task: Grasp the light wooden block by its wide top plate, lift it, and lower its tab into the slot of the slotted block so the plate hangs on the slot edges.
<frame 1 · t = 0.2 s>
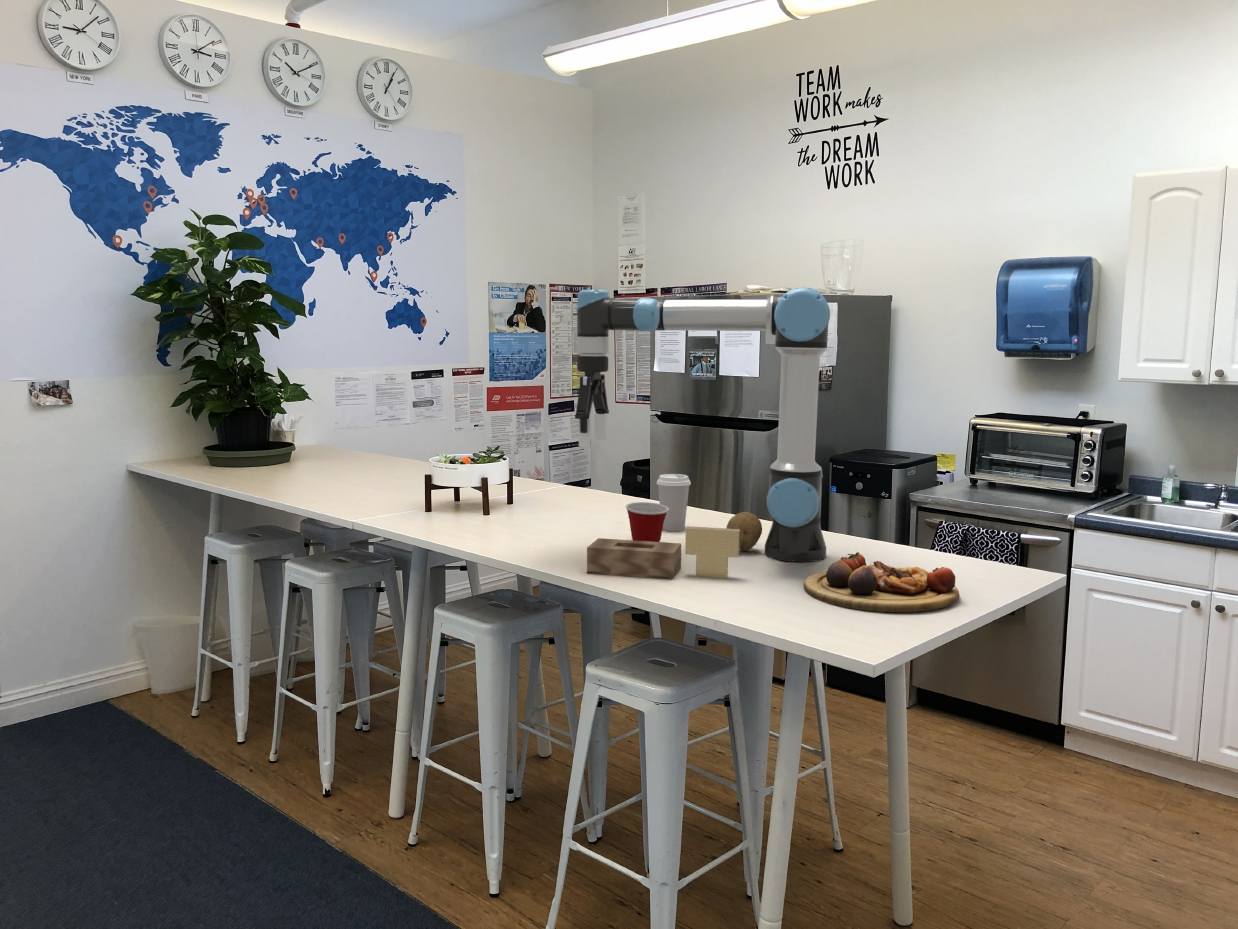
hand: (592, 443, 233), 28 cm above the table, fingers open, 13 cm apart
plastic cup: (646, 553, 239), on the table
natural sponge: (743, 551, 242), on the table
light wooden block: (711, 576, 217), on the table
wooden plate with food: (879, 595, 206), on the table
slotted block: (634, 570, 221), on the table
coffee cup: (672, 529, 268), on the table
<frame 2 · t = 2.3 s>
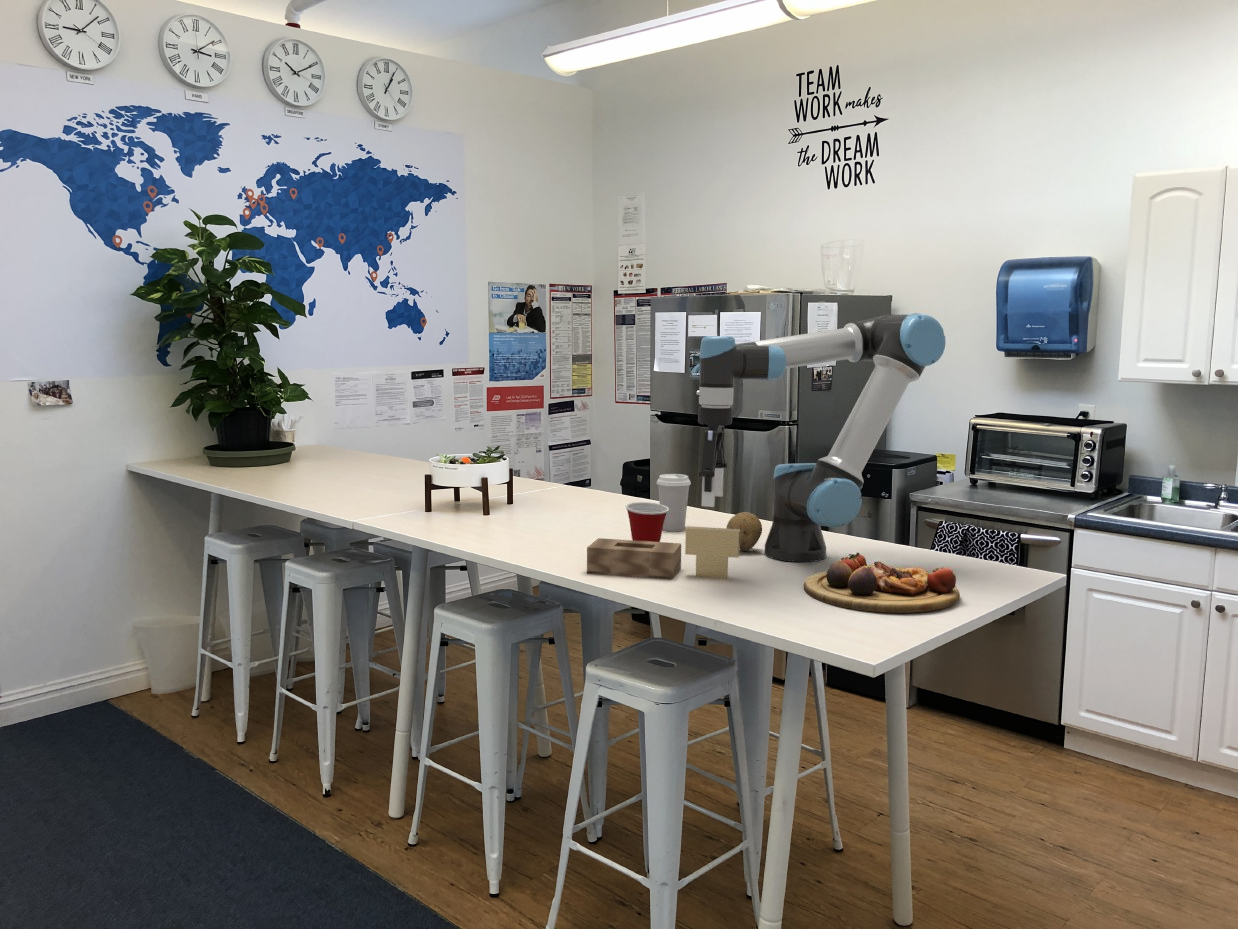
hand: (712, 501, 215), 17 cm above the table, fingers open, 13 cm apart
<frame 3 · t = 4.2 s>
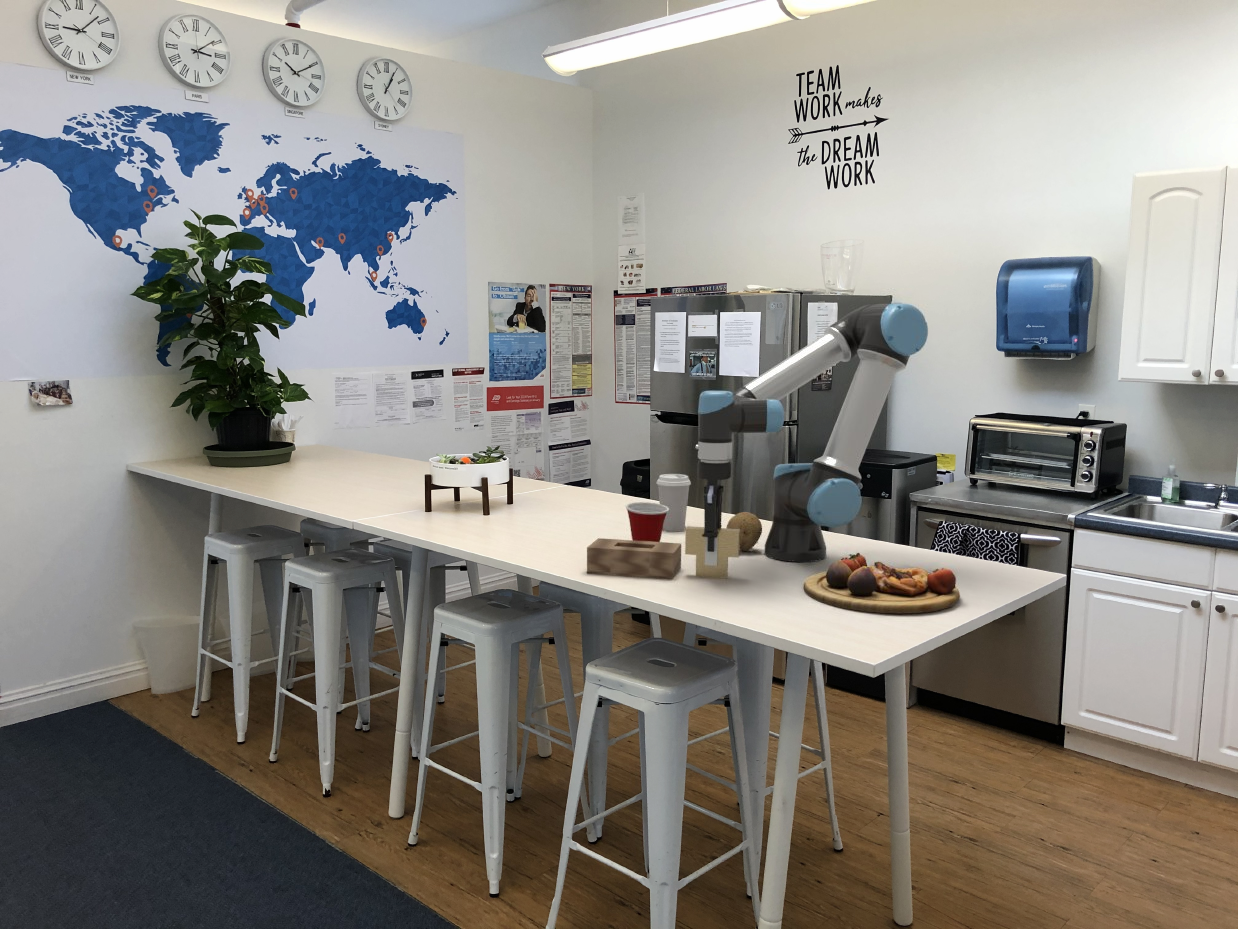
hand: (712, 563, 217), 3 cm above the table, fingers closed on light wooden block, 2 cm apart
light wooden block: (711, 576, 217), on the table, touching gripper
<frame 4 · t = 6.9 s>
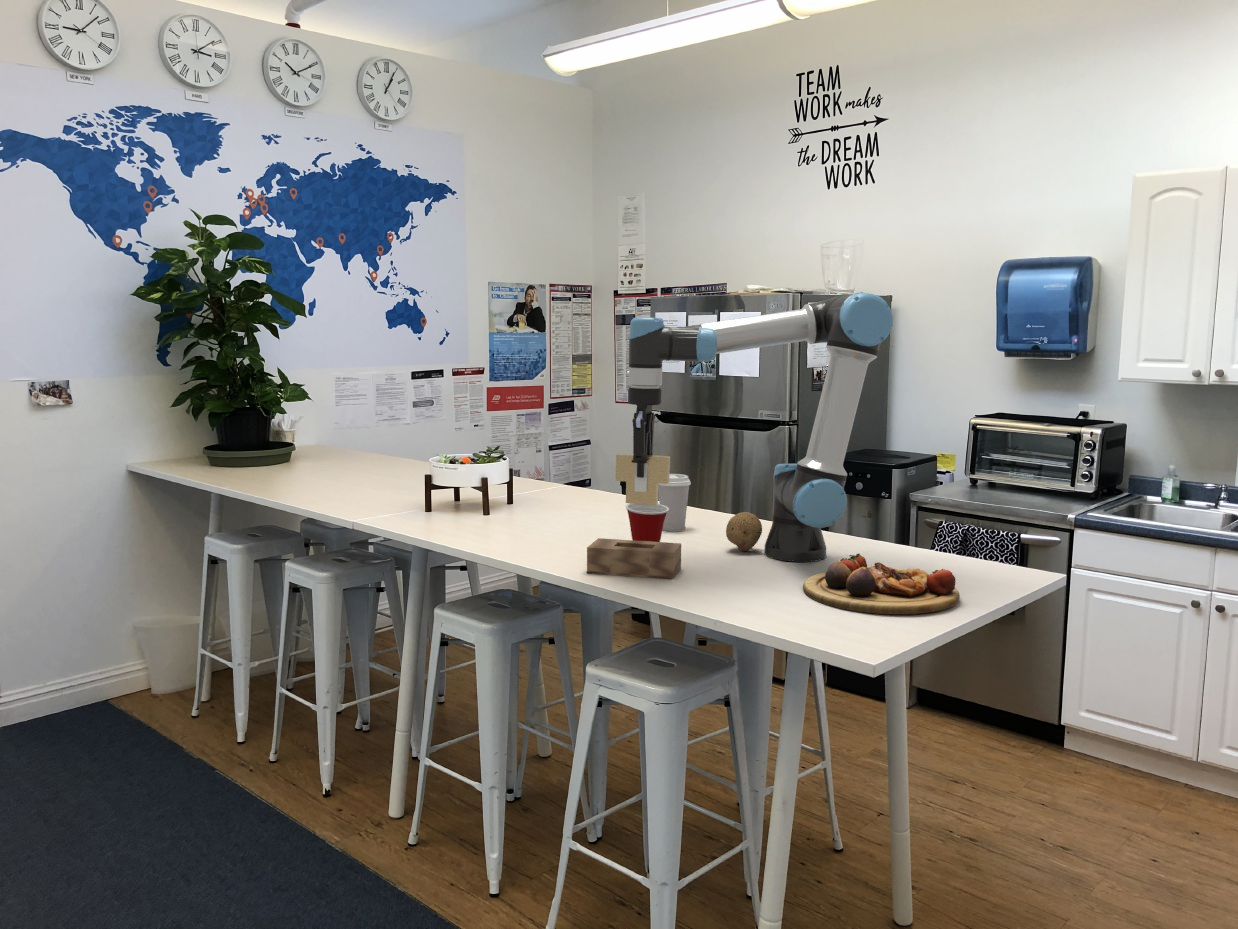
hand: (642, 490, 218), 19 cm above the table, fingers closed on light wooden block, 2 cm apart
light wooden block: (641, 503, 219), point 16 cm above the table, touching gripper
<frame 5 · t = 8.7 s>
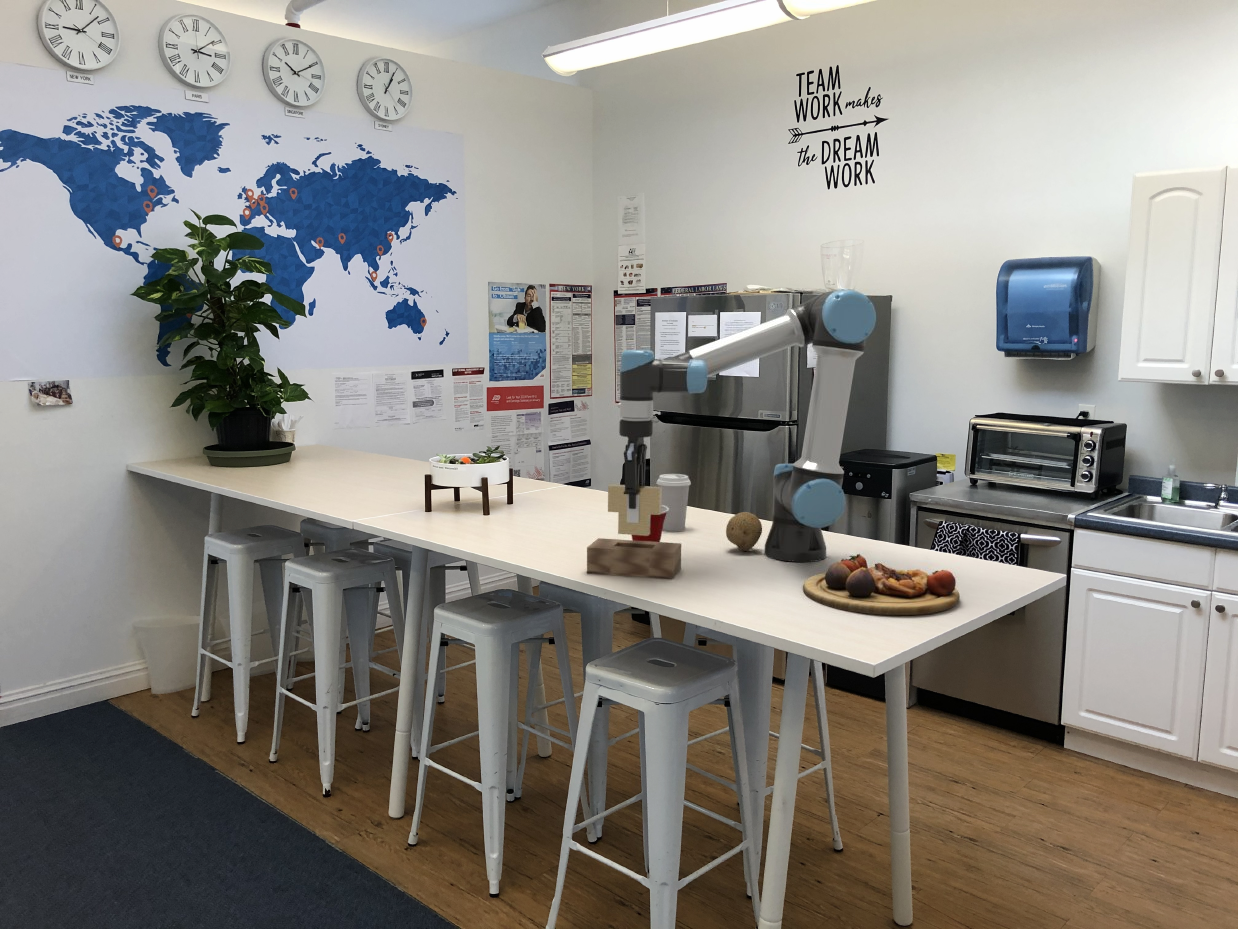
hand: (634, 520, 220), 12 cm above the table, fingers closed on light wooden block, 2 cm apart
light wooden block: (634, 533, 220), point 9 cm above the table, touching gripper
when the fingers open (7 cm above the table, at t = 9.9 s): light wooden block drops 3 cm, resting on slotted block.
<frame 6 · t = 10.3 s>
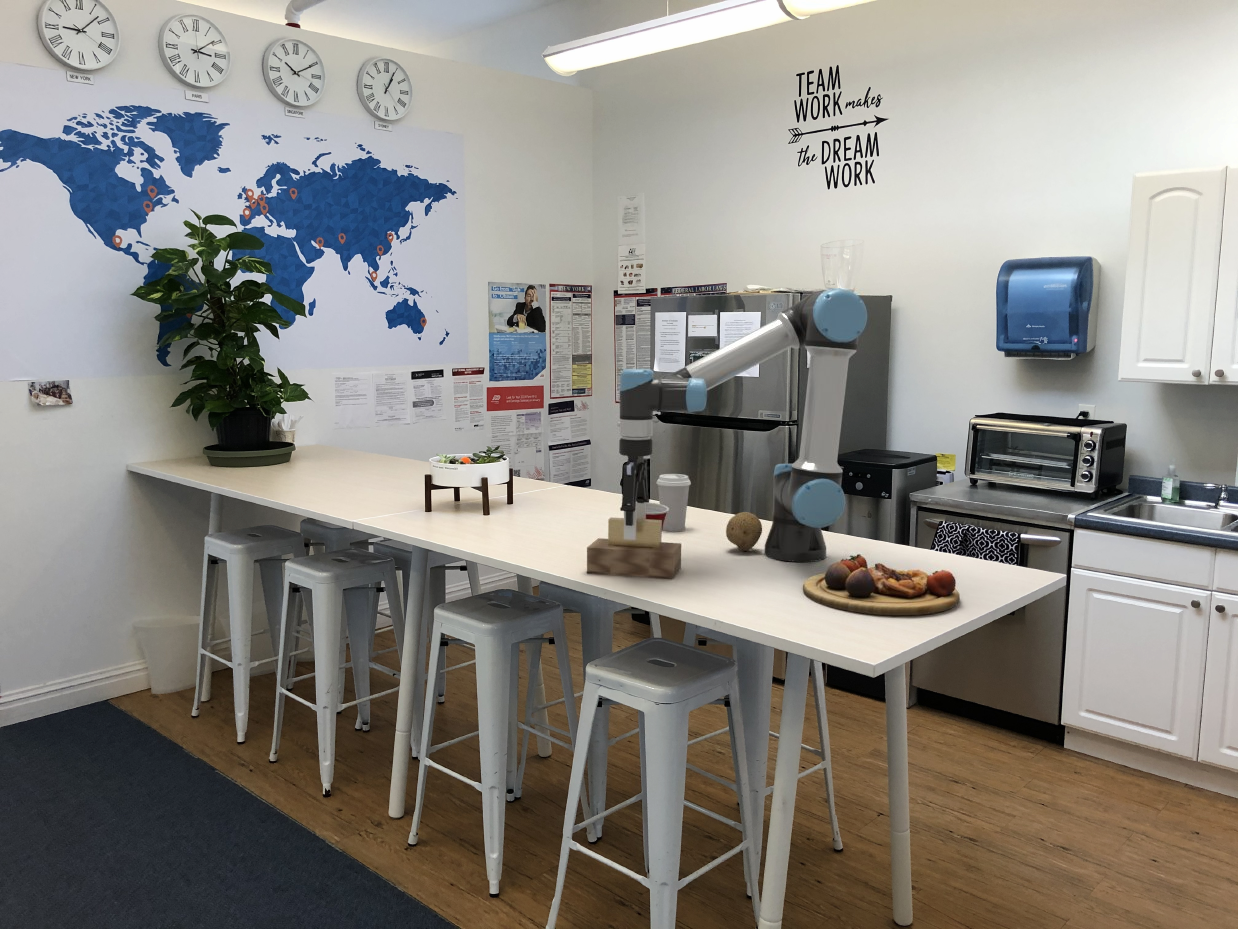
hand: (634, 534, 220), 9 cm above the table, fingers open, 9 cm apart
light wooden block: (634, 566, 221), point 1 cm above the table, touching slotted block
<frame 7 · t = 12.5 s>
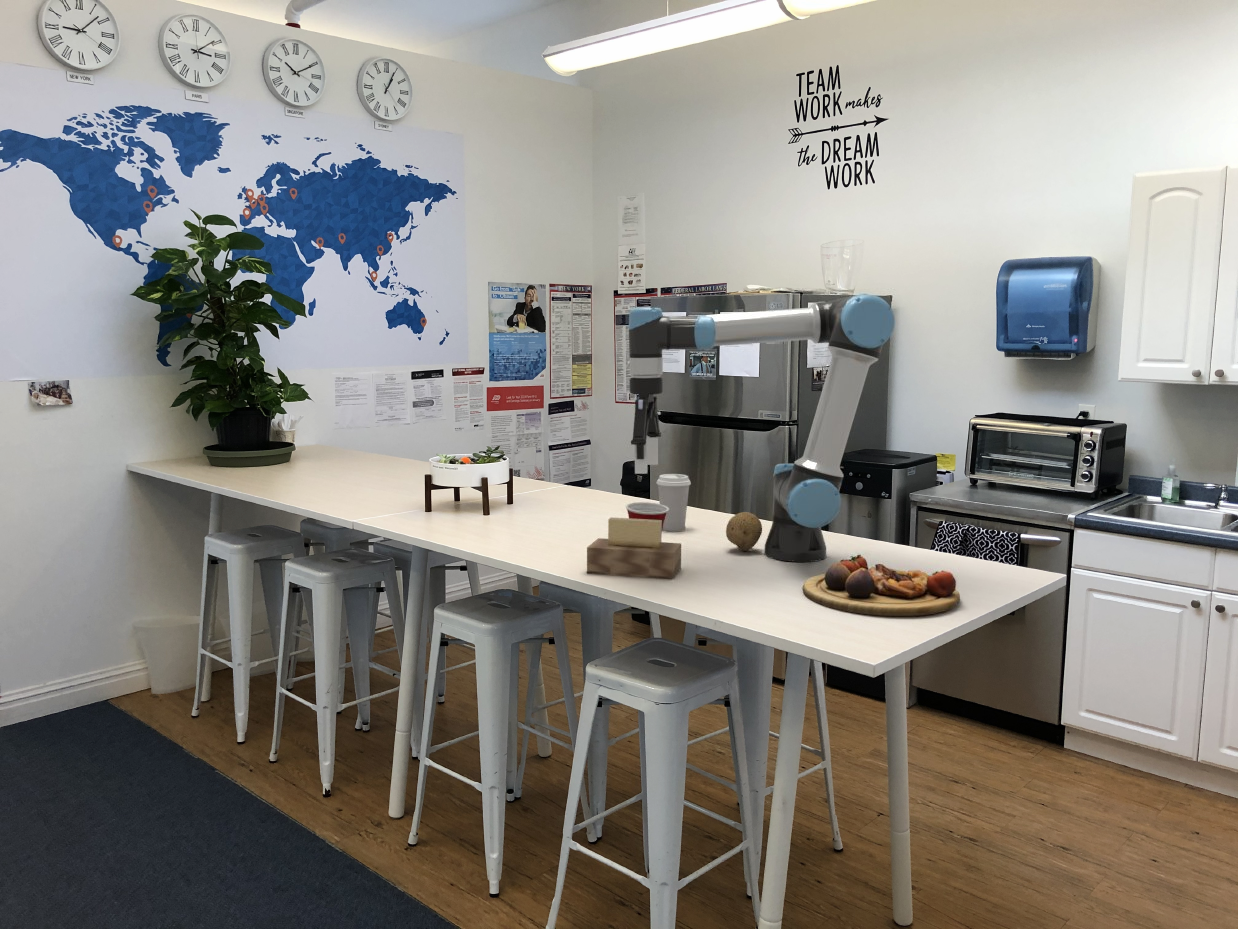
hand: (646, 469, 221), 23 cm above the table, fingers open, 13 cm apart
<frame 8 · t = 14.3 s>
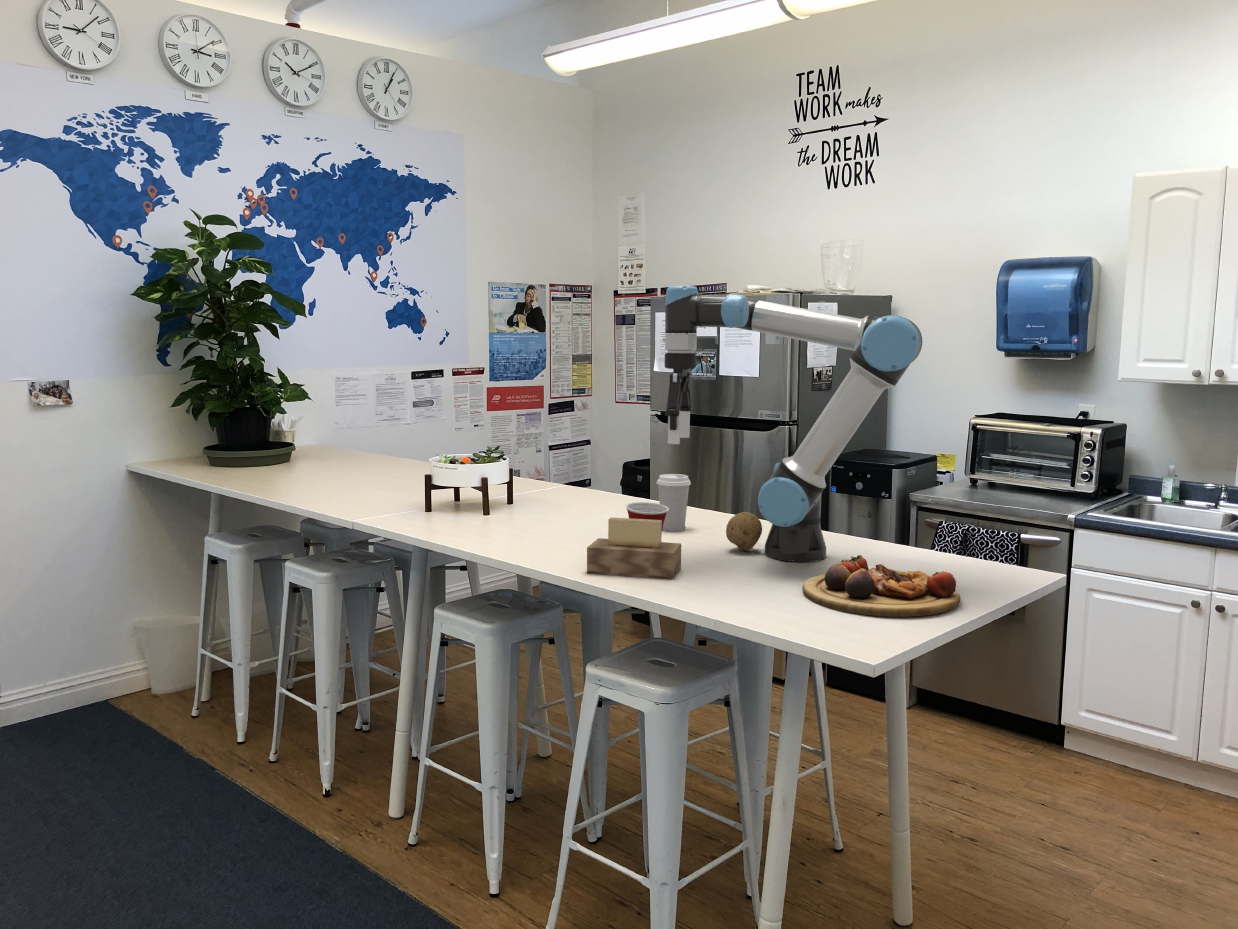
hand: (678, 440, 231), 29 cm above the table, fingers open, 13 cm apart
at the end: light wooden block 0.0 cm off-centre on the slotted block, point 1.0 cm above the slotted block's base; light wooden block tilted 0°; the gripper is holding nothing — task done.
